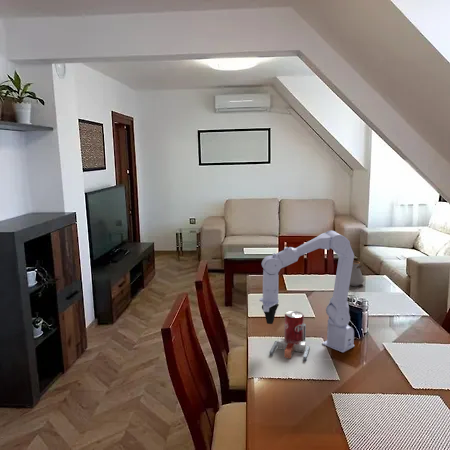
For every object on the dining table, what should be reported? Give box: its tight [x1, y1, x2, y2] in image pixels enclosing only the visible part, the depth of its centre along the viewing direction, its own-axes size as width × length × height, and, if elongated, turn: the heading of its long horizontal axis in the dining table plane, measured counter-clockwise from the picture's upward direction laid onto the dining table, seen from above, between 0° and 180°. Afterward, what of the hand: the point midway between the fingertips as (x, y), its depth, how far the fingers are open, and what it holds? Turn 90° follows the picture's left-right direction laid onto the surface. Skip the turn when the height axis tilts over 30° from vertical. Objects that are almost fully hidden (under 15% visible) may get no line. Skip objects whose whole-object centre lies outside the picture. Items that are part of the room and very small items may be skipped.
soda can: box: [283, 310, 305, 342], centre depth 158 cm, size 7×7×12 cm
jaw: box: [277, 337, 307, 360], centre depth 151 cm, size 9×10×3 cm
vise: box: [269, 323, 311, 362], centre depth 156 cm, size 18×13×6 cm
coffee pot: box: [349, 260, 365, 287], centre depth 225 cm, size 21×12×15 cm, turn 175°
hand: (270, 323), depth 154 cm, fingers closed
